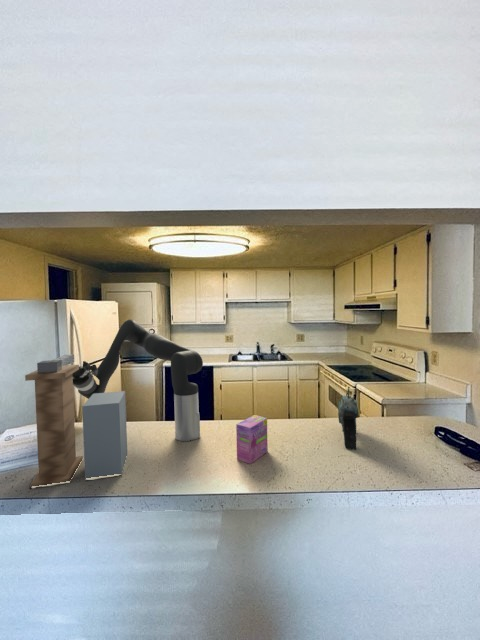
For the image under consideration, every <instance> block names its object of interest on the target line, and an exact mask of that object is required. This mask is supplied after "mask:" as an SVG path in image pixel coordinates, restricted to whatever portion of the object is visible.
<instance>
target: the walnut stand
mask: <svg viewBox="0 0 480 640" xmlns="http://www.w3.org/2000/svg"><path fill="white" fill-rule="evenodd" d="M79 367H80V364H69V365H67V366H65V367H63V368H62V370H61V371H59V372H55V373H39V374H38V371H37V369H36V370H34V371H31V372H29V373H27V374H24V378H25V382H26V381H28V382H29V381H34V396H35V398H34V399H35V417H36V437H37V438H36V439H37V442H36V443H37V444H36V445H37V461H38V462H37V464H38V467H37V468H38V473H37V474H36V476H35V477H34V478H33V480H32V481H31V482H30V483H29V488H30V487H32V486H39V485H47V484H52V483H60V482H66V481H70V480H71V478H72V477H73V475H74V473H75V471H76V469H77V468H78V466H79V464H80V462H81V461H82V459H83V460H84V455H81V456H77V455H76V453H77V452H76V433H75V432H76V431H75V430H76V429H75V427H76V426H75V407H74V403H75V402H74V385H73V375H72V373H74V372H75V371H77V370H79ZM82 462H83V461H82ZM79 467H80V466H79ZM78 469H79V468H78ZM75 474H76V473H75ZM74 476H75V475H74ZM73 478H74V477H73Z"/></svg>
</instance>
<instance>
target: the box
mask: <svg viewBox="0 0 480 640" xmlns="http://www.w3.org/2000/svg"><path fill="white" fill-rule="evenodd" d="M235 427H236V428H235V429H236V432H235V433H236V459H237V460H239V461H240V460H241V461H240V462H243V461H244V462H243V463H246V464H248V465H251V464H253V462H255V461H256V460H258V459H259V458H261V457H262V456H263V455H265V454H266V453H267V452H268V418H267V417H264V416H260V415H257V414H253V415H252V416H249V417H247V418H246V419H244V420H242V421H240V422H237V423H236V426H235Z"/></svg>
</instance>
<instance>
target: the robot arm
mask: <svg viewBox="0 0 480 640" xmlns="http://www.w3.org/2000/svg"><path fill="white" fill-rule="evenodd" d="M125 341H128V342H130V343H132V344H133V345H136V346H139V347H142V348H143V349H144V350H145V352H147V354H149V355H151V356H153V357H154V358H156V359H158V360H159V359H160V360H164V361H169V362H170V374H171V375H170V376H171V385H172V388H173V401H174V403H173V404H174V429H175V430H174V436H175V437H174V438H175V439H176V441H179V440H180V441H179V442H190V440H191V441H195V440H196V439H200V438H201V421H200V412H199V407H200V406H199V403H200V402H199V385H198V384H197V383H194V382H190V381H189V378H188V376H189V375H190V376H191V375H194V374H197V373H199V372H200V371H201V370H202V369H203V365H204V362H203V359H202V356H201V355H200V354H199V353H198V352H197V351H195V350H194V349H191V348H188V347H185V346H181V345H179V344H178V343H176V342H174V341H172V340H170V339H168V338H166V337H165V336H163V335H160V334H158V333H151V332H149V330H147V329H146V328H145V327H144V326H143V325H142V324H140V323H138V322H137V321H136V320H134V319H132V318H130V319H127V320H125V321H124V322H123V324H122V325H121V326H120V328H119V329H118V331H117V333H116V335H115V337H114V339H113V341H112V343H111V345H110V347H109V349H108V351H107V353H106V355H105V356H104V358H103V359H102V361H101V363H100V364H99V366H98V367H97V365H96V364H92V365H91V364H90V363H88V362H86V360H84V361H82V366H81V365H79V370H77V371H75V372H74V373H72V375H73V387H75V388H76V389H77V392H78V394H80V395H81V396H83V397H85V399H87V400H88V399H89V398H90V397H91V396H92V395H93V394H95V393H106V389H107V387H108V383H109V381H110V379H111V377H112V376H113V374H114V373H115V371H116V370H117V368H118V366H119V363H120V359H121V358H120V356H121V350H122V346H123V345H124V342H125ZM94 377H95V378H97V380H98V381H99V382H98V383H97V381H96V379H95V378H94Z"/></svg>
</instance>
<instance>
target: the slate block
mask: <svg viewBox="0 0 480 640" xmlns="http://www.w3.org/2000/svg"><path fill="white" fill-rule="evenodd" d="M126 405H127V402H126V390H122V391H120V390H119V391H109V392H104V393H95V394H93V395H92V396H91V397H90V398H89V399H88V398H87V400H86V401H85V402H84V403H83V405H82V406H81V409H82V410H81V412H82V433H83V434H82V435H83V436H82V438H83V463H84V466H83V467H84V480H85V479H86V478H91V477H99V476H107V475H114V474H122V475H123V473H122V471H123V472H124V470H123V467H124V468H125V466H124V464H125V465H126V462H125V460H126V461H127V458H126V456H127V457H128V432H127V407H126Z"/></svg>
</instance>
